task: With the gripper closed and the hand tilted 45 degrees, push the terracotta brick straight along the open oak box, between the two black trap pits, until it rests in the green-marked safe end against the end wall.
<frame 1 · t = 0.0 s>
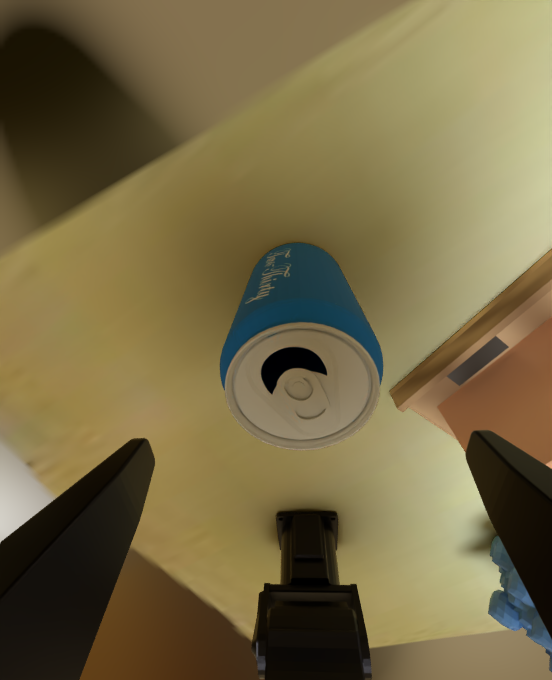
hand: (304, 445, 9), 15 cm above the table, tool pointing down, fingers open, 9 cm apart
beverage can: (296, 287, 22), on the table
grapes: (488, 537, 35), on the table, touching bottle
brick: (512, 383, 24), resting on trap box
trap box: (551, 347, 23), on the table
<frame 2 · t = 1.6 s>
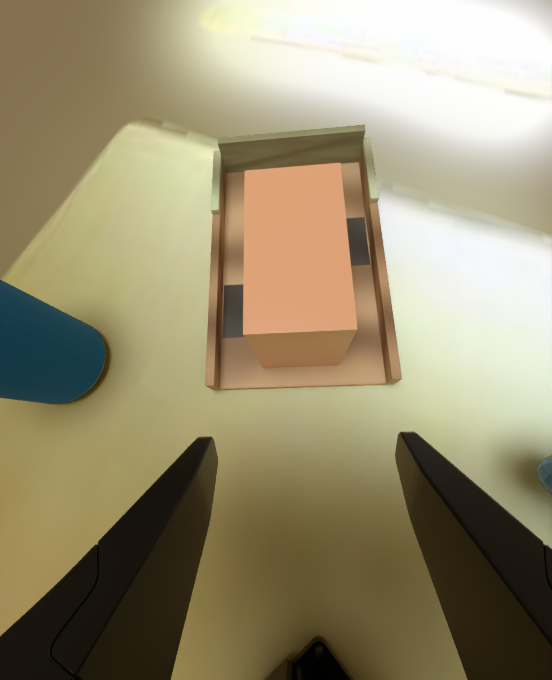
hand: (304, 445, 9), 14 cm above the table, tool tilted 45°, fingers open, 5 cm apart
beverage can: (73, 364, 25), on the table
brick: (297, 302, 24), resting on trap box
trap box: (295, 264, 26), on the table
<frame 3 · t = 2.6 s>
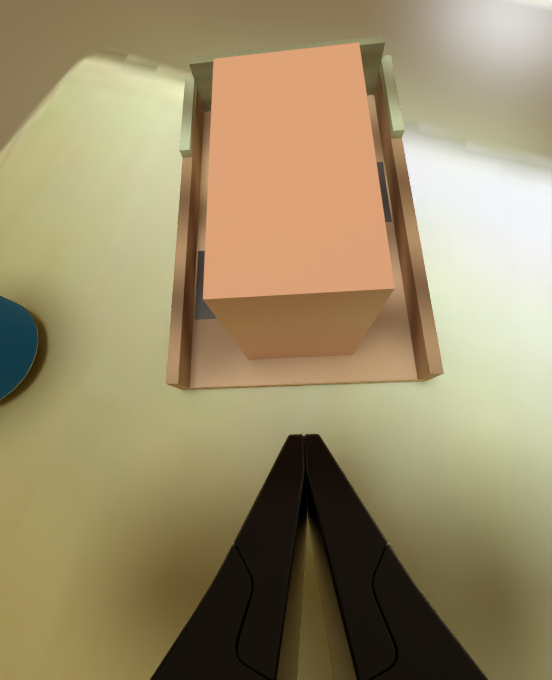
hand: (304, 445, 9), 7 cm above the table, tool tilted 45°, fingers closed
brick: (295, 272, 18), resting on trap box
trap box: (293, 224, 20), on the table
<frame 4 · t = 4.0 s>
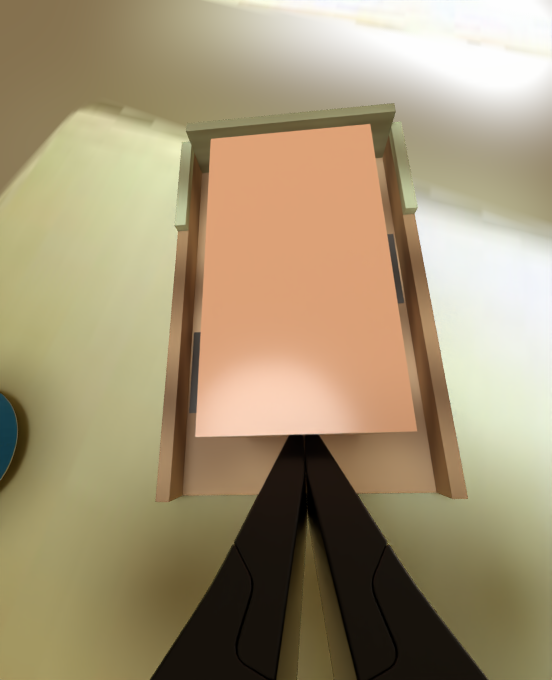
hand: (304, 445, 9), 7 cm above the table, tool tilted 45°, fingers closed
brick: (298, 339, 17), resting on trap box
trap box: (296, 301, 18), on the table
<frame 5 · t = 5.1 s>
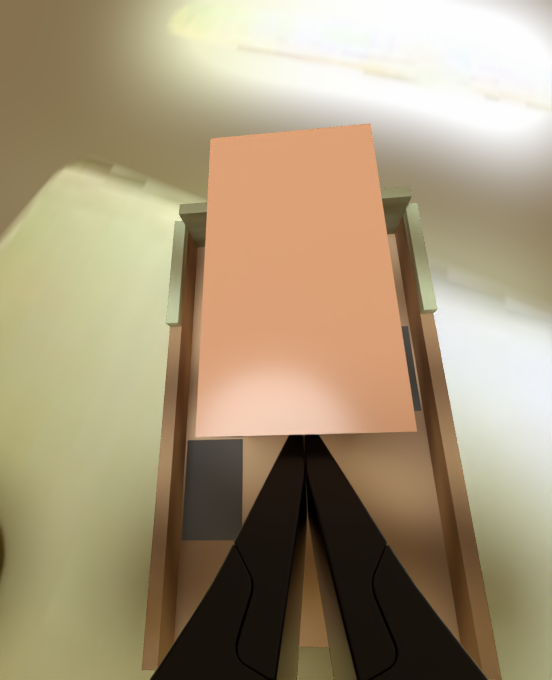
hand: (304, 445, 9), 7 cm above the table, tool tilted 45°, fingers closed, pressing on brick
brick: (298, 339, 17), point 1 cm above the table, touching gripper
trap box: (301, 401, 16), on the table
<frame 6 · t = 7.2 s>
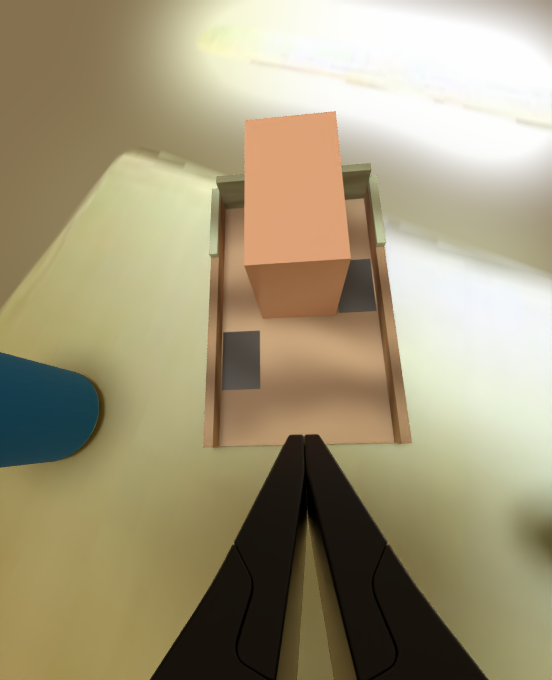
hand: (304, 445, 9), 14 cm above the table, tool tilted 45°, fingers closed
beverage can: (66, 415, 24), on the table
brick: (296, 258, 25), resting on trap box
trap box: (298, 308, 25), on the table
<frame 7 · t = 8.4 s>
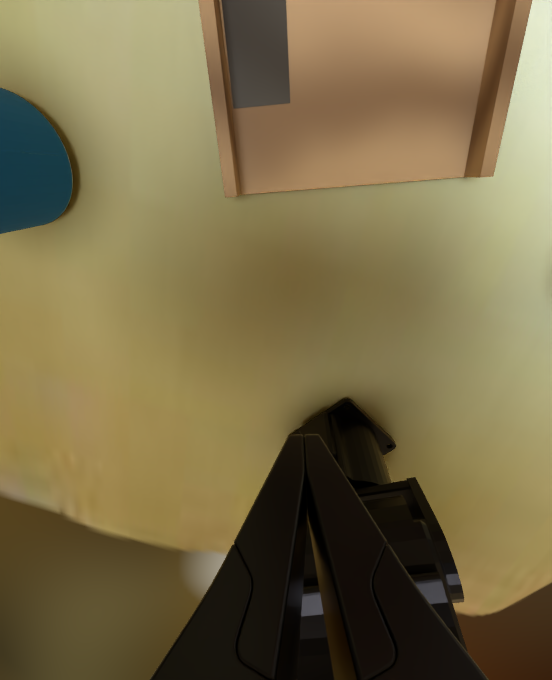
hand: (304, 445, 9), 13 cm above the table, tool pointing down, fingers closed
beverage can: (24, 162, 18), on the table
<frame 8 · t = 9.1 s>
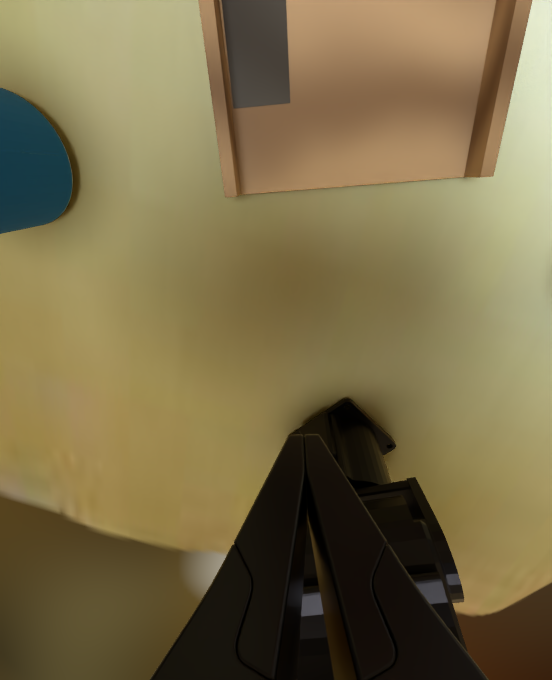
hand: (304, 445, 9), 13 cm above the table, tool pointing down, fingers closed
beverage can: (24, 162, 18), on the table
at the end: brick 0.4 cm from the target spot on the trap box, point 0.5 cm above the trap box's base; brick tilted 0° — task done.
